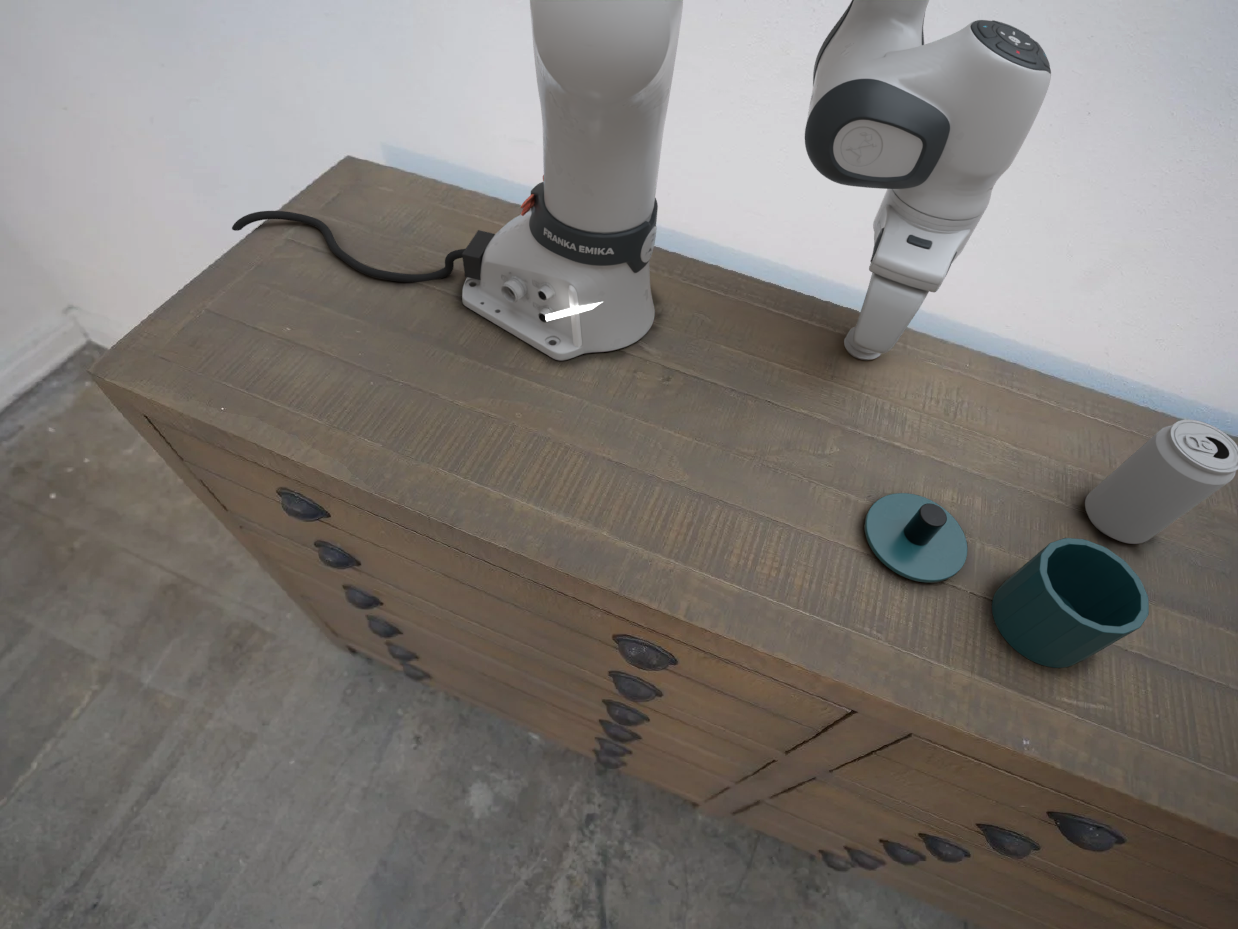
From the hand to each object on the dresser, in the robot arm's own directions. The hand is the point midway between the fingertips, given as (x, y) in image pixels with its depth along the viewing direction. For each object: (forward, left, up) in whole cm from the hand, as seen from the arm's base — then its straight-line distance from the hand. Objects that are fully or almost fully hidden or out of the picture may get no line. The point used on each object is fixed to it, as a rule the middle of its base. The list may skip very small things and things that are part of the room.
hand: (871, 328), depth 76 cm
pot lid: (+10, -23, -2) cm, 26 cm away
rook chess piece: (0, 0, -3) cm, 3 cm away
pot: (+22, -26, -3) cm, 35 cm away
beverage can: (+28, -11, -3) cm, 30 cm away
